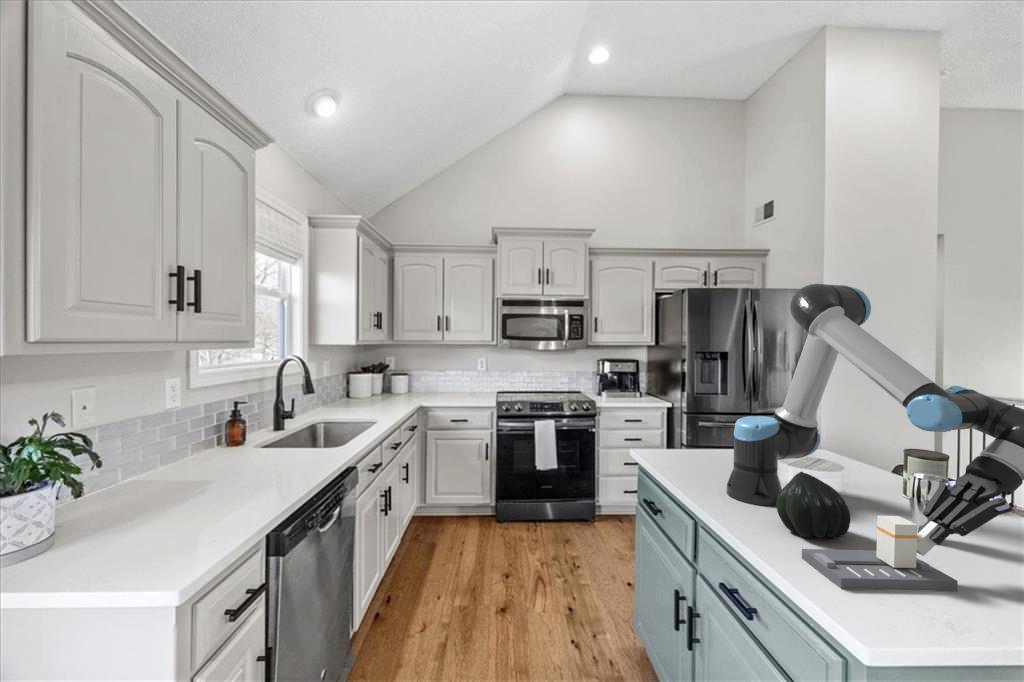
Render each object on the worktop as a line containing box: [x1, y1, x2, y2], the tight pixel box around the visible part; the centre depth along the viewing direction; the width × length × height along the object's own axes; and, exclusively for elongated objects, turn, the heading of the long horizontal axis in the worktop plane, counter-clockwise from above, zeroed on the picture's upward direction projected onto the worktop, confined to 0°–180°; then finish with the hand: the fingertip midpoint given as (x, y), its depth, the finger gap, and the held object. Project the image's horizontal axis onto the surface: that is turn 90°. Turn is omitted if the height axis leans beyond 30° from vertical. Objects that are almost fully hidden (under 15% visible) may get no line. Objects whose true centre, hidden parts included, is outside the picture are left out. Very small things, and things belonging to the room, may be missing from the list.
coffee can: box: [901, 448, 951, 500], centre depth 138 cm, size 10×10×14 cm
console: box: [801, 548, 959, 592], centre depth 94 cm, size 22×12×3 cm, turn 90°
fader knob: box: [875, 515, 918, 568], centre depth 93 cm, size 5×5×9 cm
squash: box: [775, 471, 852, 539], centre depth 113 cm, size 14×15×15 cm
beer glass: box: [908, 473, 947, 545], centre depth 111 cm, size 7×7×15 cm
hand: (915, 549), depth 93 cm, fingers closed
